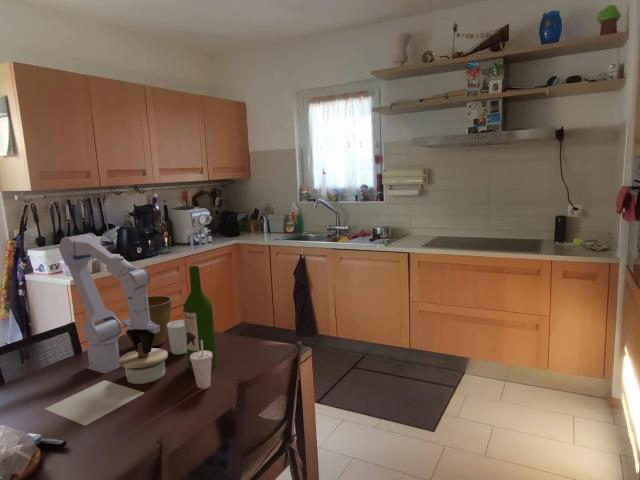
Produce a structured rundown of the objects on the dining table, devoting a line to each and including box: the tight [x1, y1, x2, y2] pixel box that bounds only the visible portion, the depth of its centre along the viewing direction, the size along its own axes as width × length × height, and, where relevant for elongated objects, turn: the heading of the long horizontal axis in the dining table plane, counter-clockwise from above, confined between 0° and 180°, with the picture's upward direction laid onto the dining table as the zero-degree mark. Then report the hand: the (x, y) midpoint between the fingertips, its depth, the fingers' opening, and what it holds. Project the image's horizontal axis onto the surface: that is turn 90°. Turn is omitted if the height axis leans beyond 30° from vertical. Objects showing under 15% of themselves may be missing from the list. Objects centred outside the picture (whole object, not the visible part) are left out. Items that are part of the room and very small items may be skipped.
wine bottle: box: [182, 265, 218, 372], centre depth 143 cm, size 9×9×32 cm
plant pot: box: [148, 295, 172, 348], centre depth 165 cm, size 15×15×16 cm
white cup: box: [167, 319, 187, 355], centre depth 158 cm, size 8×8×10 cm
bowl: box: [124, 360, 166, 385], centre depth 139 cm, size 11×11×5 cm
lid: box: [119, 343, 169, 369], centre depth 138 cm, size 14×14×5 cm
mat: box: [44, 379, 145, 426], centre depth 125 cm, size 18×18×1 cm
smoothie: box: [190, 340, 213, 390], centre depth 131 cm, size 6×6×14 cm
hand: (143, 351), depth 138 cm, fingers closed on lid, 3 cm apart
